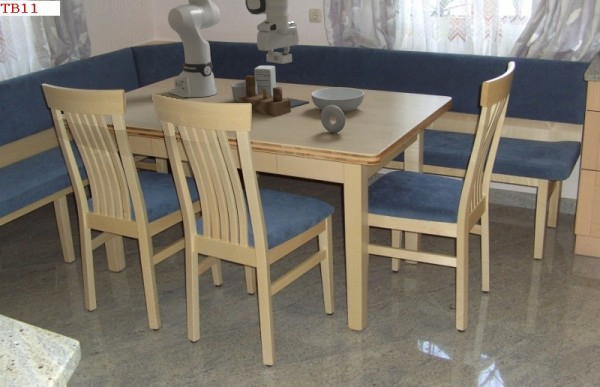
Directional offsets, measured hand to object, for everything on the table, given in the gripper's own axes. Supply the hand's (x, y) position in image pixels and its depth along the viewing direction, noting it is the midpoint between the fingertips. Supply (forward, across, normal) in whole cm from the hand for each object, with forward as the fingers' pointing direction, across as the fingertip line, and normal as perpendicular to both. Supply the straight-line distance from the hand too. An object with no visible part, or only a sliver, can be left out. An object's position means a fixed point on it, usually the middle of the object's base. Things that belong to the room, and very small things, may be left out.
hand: (279, 59), depth 296 cm
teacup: (+19, +3, -18) cm, 27 cm away
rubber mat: (+19, -5, 0) cm, 20 cm away
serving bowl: (+20, -9, +23) cm, 31 cm away
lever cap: (+1, 0, 0) cm, 1 cm away
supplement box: (+19, -9, -18) cm, 28 cm away
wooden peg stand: (+19, +9, 0) cm, 21 cm away
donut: (+19, +18, +43) cm, 51 cm away
